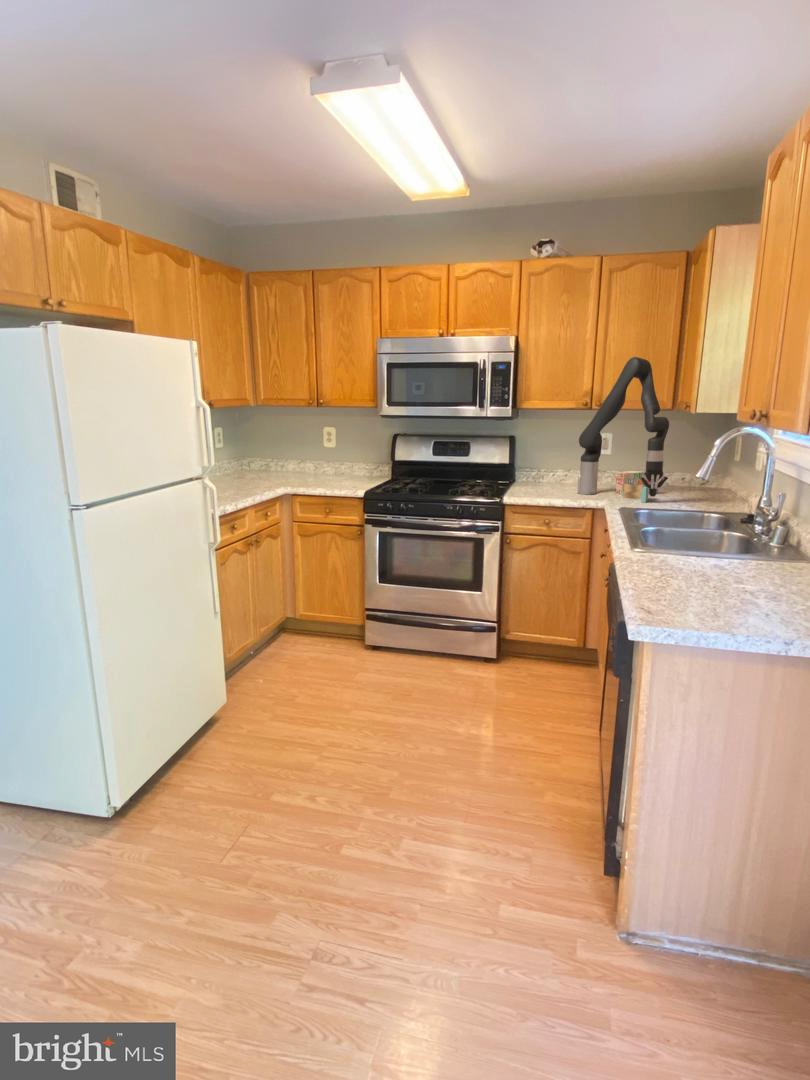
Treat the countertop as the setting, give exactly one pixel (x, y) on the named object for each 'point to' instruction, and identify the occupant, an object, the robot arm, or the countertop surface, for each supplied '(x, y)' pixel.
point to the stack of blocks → (629, 480)
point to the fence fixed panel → (632, 491)
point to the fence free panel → (644, 494)
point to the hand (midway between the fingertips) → (652, 496)
